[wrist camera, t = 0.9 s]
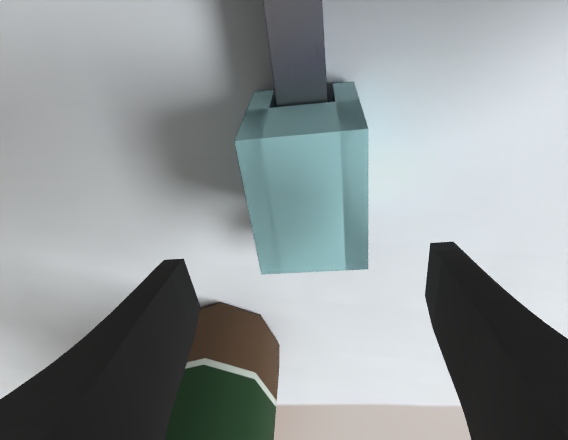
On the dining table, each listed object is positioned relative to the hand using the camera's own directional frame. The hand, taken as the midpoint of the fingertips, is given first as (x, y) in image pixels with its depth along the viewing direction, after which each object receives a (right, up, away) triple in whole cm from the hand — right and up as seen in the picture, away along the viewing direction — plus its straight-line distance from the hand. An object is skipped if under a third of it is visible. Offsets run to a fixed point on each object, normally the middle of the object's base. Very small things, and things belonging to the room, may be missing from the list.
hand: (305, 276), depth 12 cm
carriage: (+1, +5, +8) cm, 9 cm away
